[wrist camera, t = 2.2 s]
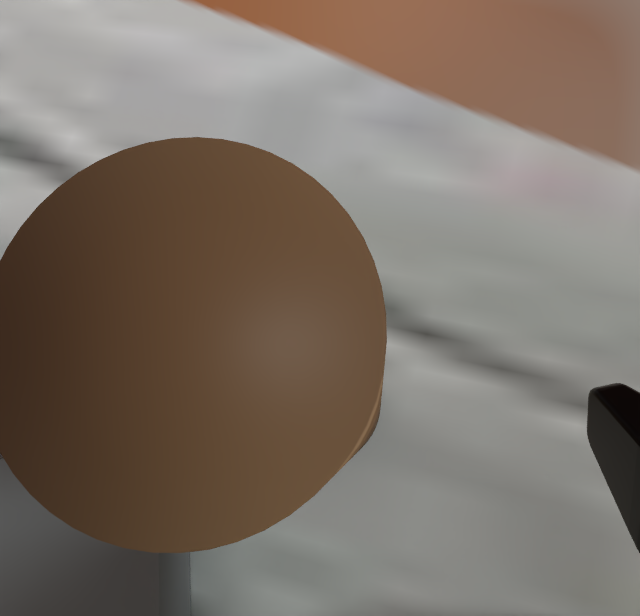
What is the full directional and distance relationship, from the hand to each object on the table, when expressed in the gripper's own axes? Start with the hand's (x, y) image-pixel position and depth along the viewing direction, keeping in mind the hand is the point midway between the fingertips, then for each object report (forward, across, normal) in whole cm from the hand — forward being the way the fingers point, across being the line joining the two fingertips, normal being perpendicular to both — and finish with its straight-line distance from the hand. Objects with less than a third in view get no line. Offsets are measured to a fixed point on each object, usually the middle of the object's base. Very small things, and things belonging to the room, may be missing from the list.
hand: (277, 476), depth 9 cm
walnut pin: (+8, 0, +6) cm, 9 cm away
